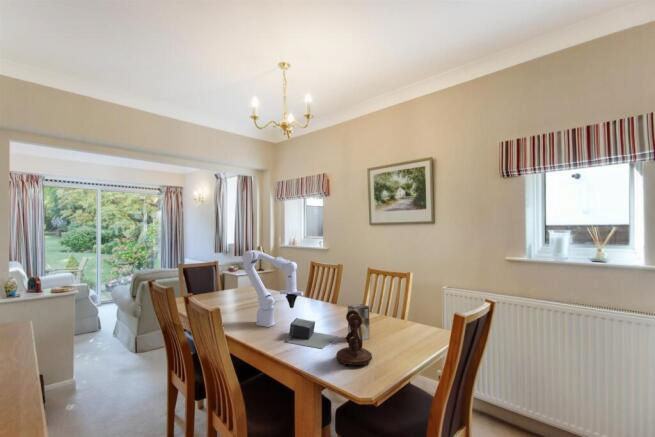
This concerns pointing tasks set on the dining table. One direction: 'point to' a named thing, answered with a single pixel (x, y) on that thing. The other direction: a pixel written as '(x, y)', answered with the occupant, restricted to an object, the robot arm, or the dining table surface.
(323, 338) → the mat
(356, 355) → the brown tall round-based figurine
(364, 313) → the coffee box
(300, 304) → the dining table surface
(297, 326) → the small box
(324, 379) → the dining table surface
